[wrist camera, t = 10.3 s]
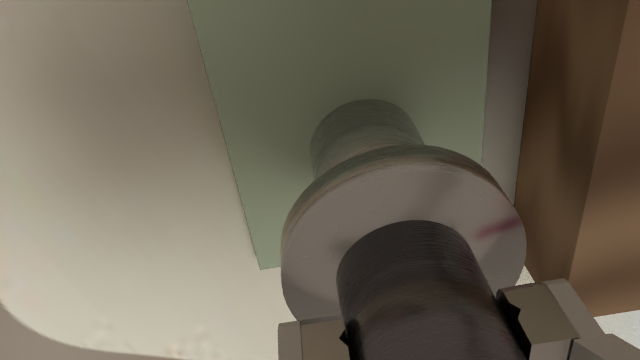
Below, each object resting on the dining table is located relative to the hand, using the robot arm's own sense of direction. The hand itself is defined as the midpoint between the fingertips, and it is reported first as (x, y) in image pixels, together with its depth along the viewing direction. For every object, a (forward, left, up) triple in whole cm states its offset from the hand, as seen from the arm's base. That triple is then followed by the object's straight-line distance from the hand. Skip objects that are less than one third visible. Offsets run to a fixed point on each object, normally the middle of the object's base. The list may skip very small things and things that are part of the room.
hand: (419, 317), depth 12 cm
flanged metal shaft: (0, 0, -8) cm, 8 cm away
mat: (0, 0, -10) cm, 10 cm away
